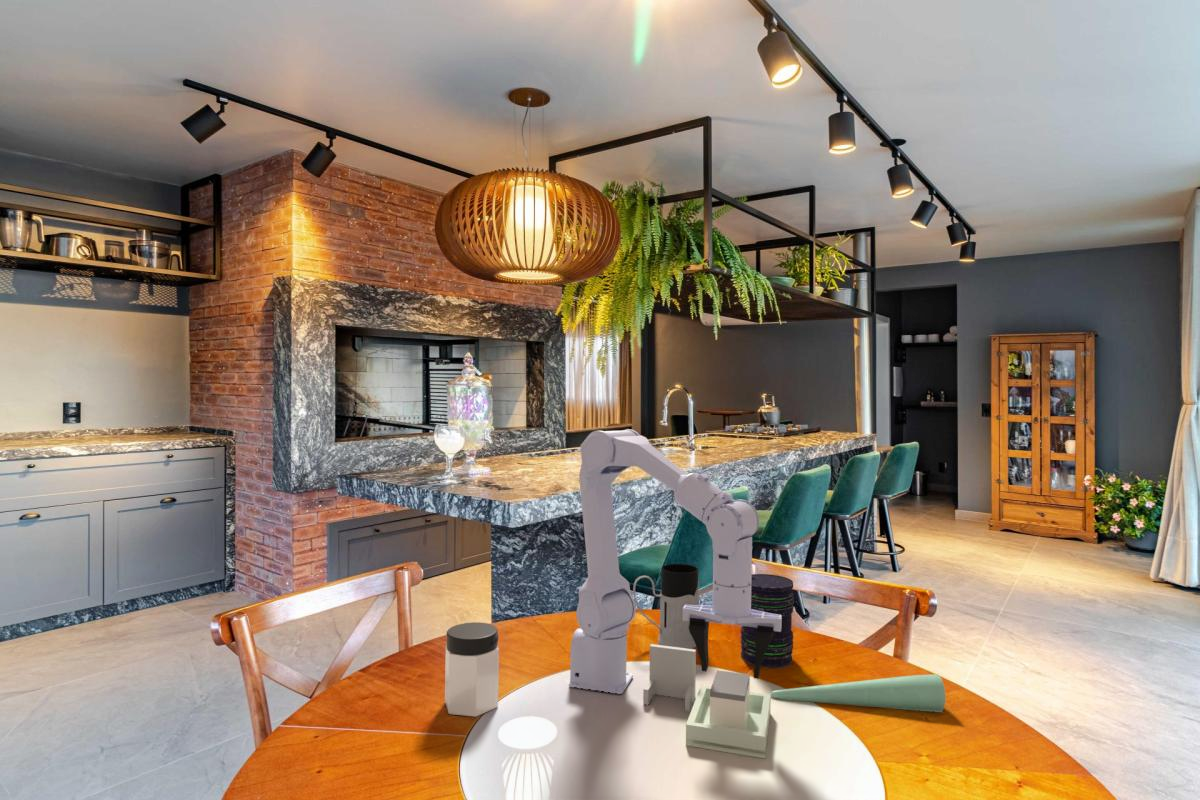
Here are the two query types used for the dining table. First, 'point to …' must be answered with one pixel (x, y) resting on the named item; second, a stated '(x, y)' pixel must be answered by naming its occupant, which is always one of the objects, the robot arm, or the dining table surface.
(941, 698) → the long green cone
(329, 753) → the dining table surface
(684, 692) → the dock
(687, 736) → the tray
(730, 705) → the tall grey beige-topped block
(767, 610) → the storage jar
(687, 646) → the glass holder
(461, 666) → the jar
